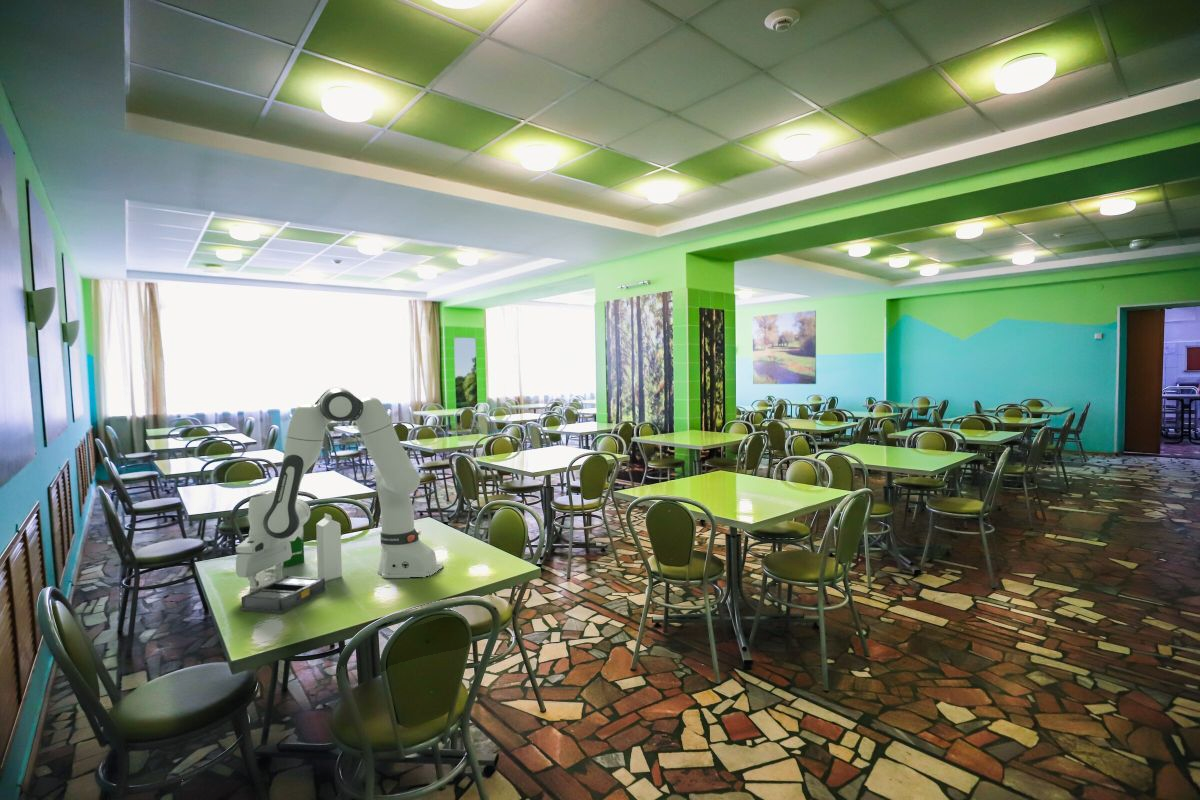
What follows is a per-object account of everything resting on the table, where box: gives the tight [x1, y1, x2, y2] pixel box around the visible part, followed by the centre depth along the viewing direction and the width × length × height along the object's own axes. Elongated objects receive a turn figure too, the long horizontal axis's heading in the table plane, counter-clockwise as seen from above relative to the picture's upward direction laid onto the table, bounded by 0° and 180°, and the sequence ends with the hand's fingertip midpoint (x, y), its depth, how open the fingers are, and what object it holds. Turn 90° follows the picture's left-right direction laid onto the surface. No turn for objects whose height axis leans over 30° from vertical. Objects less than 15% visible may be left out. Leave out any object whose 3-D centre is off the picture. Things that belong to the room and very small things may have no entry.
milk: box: [315, 513, 343, 582], centre depth 197 cm, size 6×6×22 cm
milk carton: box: [283, 525, 305, 568], centre depth 213 cm, size 9×9×20 cm
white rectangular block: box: [249, 568, 284, 590], centre depth 187 cm, size 10×3×6 cm, turn 79°
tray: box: [240, 575, 326, 615], centre depth 177 cm, size 15×19×4 cm
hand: (266, 581), depth 187 cm, fingers open, 8 cm apart
